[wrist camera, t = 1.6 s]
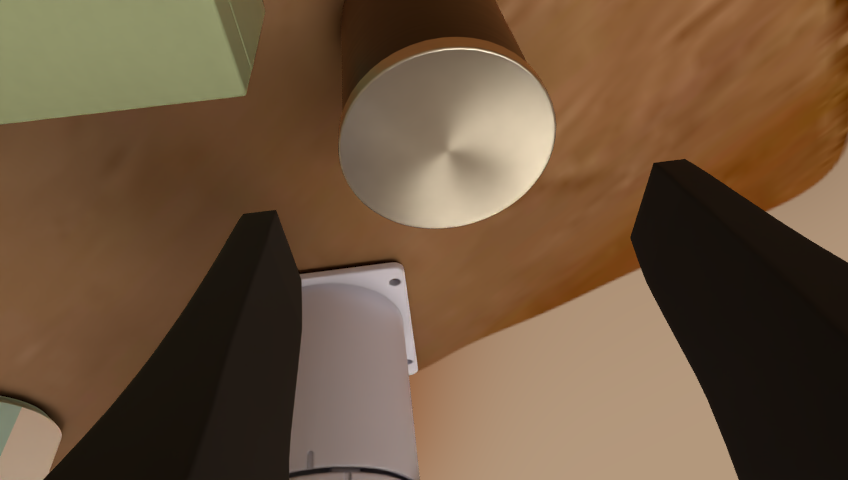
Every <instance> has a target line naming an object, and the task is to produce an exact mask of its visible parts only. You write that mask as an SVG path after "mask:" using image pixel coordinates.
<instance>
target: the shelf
mask: <svg viewBox="0 0 848 480" xmlns="http://www.w3.org/2000/svg"><path fill="white" fill-rule="evenodd" d="M264 15H265V8H264V5H263V1H262V0H0V125H1V124H10V123H18V122H27V121H35V120H44V119H52V118H61V117H69V116H78V115H86V114H95V113H103V112H112V111H120V110H129V109H137V108H146V107H154V106H163V105H171V104H180V103H188V102H197V101H205V100H214V99H223V98H231V97H240V96H245V95H246V93H247V89H248V84H249V80H250V75H251V71H252V68H253V64H254V60H255V55H256V51H257V46H258V42H259V37H260V33H261V28H262V24H263V19H264Z"/></svg>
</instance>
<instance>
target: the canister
mask: <svg viewBox="0 0 848 480" xmlns="http://www.w3.org/2000/svg"><path fill="white" fill-rule="evenodd" d="M341 52H342V115H341V119H340V124H339V132H338V153H339V160H340V165H341V168H342V172H343V175H344V177H345V179H346V181H347V183H348V185H349V186H350V188H351V189H352V190H353V192H354V193H355V195H356V196H357V197H358V198H359V199H360V200H361V201H362V202H363V203H364V204H365V205H366V206H368V207H369V208H370V209H371V210H373V211H374V212H376V213H378V214H379V215H381V216H383V217H385V218H387V219H389V220H391V221H394V222H397V223H400V224H403V225H407V226H412V227H418V228H427V229H442V228H453V227H459V226H464V225H468V224H472V223H475V222H478V221H481V220H484V219H486V218H489V217H491V216H493V215H495V214H497V213H499V212H501V211H502V210H504V209H506V208H507V207H509V206H510V205H512V204H513V203H514V202H516V201H517V200H518V199H520V198H521V197H522V196H523V195H524V194H525V193H526V192H527V191H528V190H529V189H530V188H531V187H532V186H533V185H534V183H535V182H536V181H537V180H538V178H539V177H540V175H541V174H542V172H543V171H544V169H545V167H546V165H547V163H548V161H549V159H550V156H551V153H552V151H553V146H554V142H555V137H556V118H555V111H554V108H553V104H552V101H551V99H550V96H549V94H548V92H547V90H546V88H545V86H544V84H543V82H542V81H541V79H540V78H539V76H538V75H537V73H536V72H535V71H534V70H533V68H532V67H531V66H530V65H529V64H528V63H527V62H526V60H525V58H524V56H523V54H522V52H521V50H520V48H519V46H518V44H517V42H516V40H515V38H514V36H513V35H512V33H511V31H510V29H509V27H508V25H507V23H506V21H505V19H504V17H503V15H502V13H501V11H500V9H499V7H498V5H497V3H496V1H495V0H345V2H344V5H343V10H342V17H341Z"/></svg>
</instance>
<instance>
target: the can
mask: <svg viewBox="0 0 848 480" xmlns="http://www.w3.org/2000/svg"><path fill="white" fill-rule="evenodd" d="M61 437H62V433H61V430H60V429H59V427H58V426H57V425H56V424H55V422H54V421H53V420H52V419H50V418H49V417H48V416H47V414H46V413H44V412H43V411H42V410H40V409H39V408H37V407H35V406H33V405H31V404H29V403H26V402H23V401H20V400H17V399H13V398H9V397H4V396H0V480H43V479H44V478H45V477H46V476H47V475H48V473H49V471H50V468H51V465H52V462H53V460H54V457H55V454H56V451H57V449H58V446H59V443H60V441H61Z"/></svg>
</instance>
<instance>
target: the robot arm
mask: <svg viewBox="0 0 848 480" xmlns="http://www.w3.org/2000/svg"><path fill="white" fill-rule="evenodd" d="M630 238H631V241H632V244H633V247H634V250H635V253H636V256H637V258H638V261H639V264H640V267H641V269H642V272H643V275H644V277H645V280H646V282H647V284H648V286H649V288H650V290H651V292H652V294H653V296H654V298H655V300H656V302H657V303H658V305H659V307H660V309H661V311H662V313H663V315H664V317H665V319H666V321H667V323H668V324H669V326H670V328H671V330H672V332H673V334H674V336H675V337H676V339H677V341H678V343H679V345H680V347H681V349H682V351H683V352H684V354H685V356H686V358H687V360H688V362H689V364H690V365H691V367H692V369H693V371H694V373H695V375H696V376H697V379H698V381H699V383H700V385H701V387H702V389H703V391H704V393H705V395H706V397H707V399H708V402H709V404H710V407H711V409H712V412H713V414H714V416H715V419H716V422H717V424H718V426H719V429H720V432H721V434H722V436H723V439H724V441H725V444H726V446H727V449H728V452H729V455H730V457H731V460H732V463H733V465H734V468H735V471H736V473H737V476H738V479H739V480H848V263H847V262H846V261H844V260H842V259H841V258H839V257H837V256H836V255H833V254H832V253H831V252H829V251H827V250H825V249H823V248H822V247H820V246H819V245H817V244H815V243H814V242H812V241H810V240H809V239H807V238H806V237H804V236H802V235H801V234H799V233H798V232H796V231H794V230H793V229H791V228H790V227H788V226H786V225H785V224H783V223H782V222H780V221H779V220H777V219H776V218H774V217H773V216H771V215H770V214H768V213H767V212H765V211H764V210H762V209H761V208H759V207H758V206H756V205H755V204H753V203H752V202H750V201H749V200H747V199H746V198H744V197H743V196H741V195H740V194H738V193H737V192H735V191H734V190H732V189H731V188H729V187H728V186H726V185H725V184H723V183H722V182H720V181H719V180H717V179H716V178H714V177H713V176H711V175H710V174H708V173H707V172H705V171H704V170H702V169H700V168H699V167H697V166H696V165H694V164H692V163H691V162H689V161H687V160H686V159H682V160H674V161H666V162H658V163H654V164H653V167H652V170H651V173H650V177H649V180H648V183H647V186H646V189H645V192H644V196H643V199H642V202H641V205H640V208H639V212H638V215H637V218H636V221H635V224H634V228H633V231H632V234H631V237H630ZM417 371H418V365H417V358H416V351H415V344H414V337H413V329H412V322H411V315H410V308H409V301H408V294H407V287H406V280H405V273H404V267H403V265H401V264H400V263H396V262H391V263H383V264H375V265H367V266H359V267H352V268H344V269H336V270H328V271H321V272H313V273H305V274H299V272H298V269H297V266H296V264H295V261H294V258H293V255H292V253H291V250H290V247H289V244H288V242H287V239H286V236H285V233H284V231H283V228H282V225H281V222H280V220H279V217H278V214H277V211H276V210H271V211H263V212H255V213H247V214H243V215H242V216H241V218H240V219H239V220H238V222H237V224H236V226H235V227H234V229H233V231H232V232H231V234H230V236H229V238H228V239H227V241H226V243H225V245H224V246H223V248H222V250H221V251H220V253H219V255H218V256H217V258H216V260H215V261H214V263H213V265H212V266H211V268H210V270H209V271H208V273H207V275H206V276H205V278H204V279H203V281H202V283H201V284H200V286H199V287H198V289H197V290H196V292H195V293H194V295H193V297H192V298H191V300H190V301H189V303H188V304H187V306H186V308H185V309H184V311H183V312H182V313H181V315H180V316H179V318H178V319H177V321H176V322H175V323H174V325H173V326H172V328H171V329H170V331H169V332H168V333H167V335H166V336H165V338H164V339H163V340H162V342H161V343H160V345H159V346H158V347H157V349H156V350H155V352H154V353H153V354H152V356H151V357H150V358H149V360H148V361H147V362H146V363H145V365H144V366H143V367H142V369H141V370H140V371H139V373H138V374H137V375H136V376H135V378H134V379H133V380H132V381H131V383H130V384H129V385H128V386H127V387H126V389H125V390H124V391H123V392H122V393H121V395H120V396H119V397H118V398H117V400H116V401H115V402H114V403H113V404H112V406H111V407H110V408H109V409H108V410H107V411H106V412H105V414H104V415H103V416H102V417H101V418H100V419H99V420H98V421H97V422H96V424H95V425H94V426H93V427H92V428H91V429H90V430H89V431H88V432H87V434H86V435H85V436H84V437H83V438H82V439H81V440H80V441H79V442H78V444H77V445H76V446H75V447H74V448H73V449H72V450H71V451H70V452H69V453H68V454H67V455H66V456H65V457H64V458H63V460H62V461H61V462H60V463H59V464H58V465H57V466H56V467H55V468H54V469H53V470H52V471H51V472H50V473H49V474H48V475H47V476H46V477H45V478H44V479H43V480H420V477H419V468H418V459H417V449H416V439H415V430H414V421H413V411H412V401H411V392H410V383H409V375H413V374H415V373H416V372H417Z"/></svg>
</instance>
